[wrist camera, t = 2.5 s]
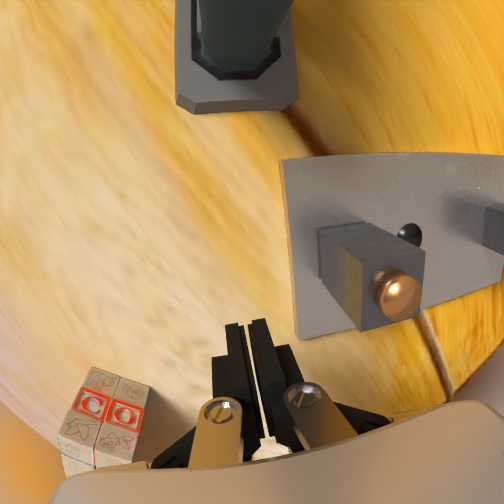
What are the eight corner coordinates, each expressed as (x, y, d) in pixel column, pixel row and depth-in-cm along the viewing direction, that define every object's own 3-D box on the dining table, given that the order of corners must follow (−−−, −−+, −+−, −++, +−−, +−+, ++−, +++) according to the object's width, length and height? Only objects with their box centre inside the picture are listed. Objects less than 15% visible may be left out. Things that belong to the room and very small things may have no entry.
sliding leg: (369, 222, 21) (436, 257, 13) (369, 272, 22) (427, 323, 14) (318, 229, 21) (371, 271, 13) (321, 282, 22) (367, 342, 14)
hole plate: (502, 155, 22) (510, 156, 21) (494, 277, 26) (500, 280, 25) (278, 160, 20) (282, 160, 19) (294, 332, 25) (298, 340, 23)
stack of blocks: (90, 363, 24) (44, 463, 12) (151, 384, 25) (129, 494, 14) (88, 462, 29) (71, 529, 18) (130, 476, 30) (119, 545, 19)
